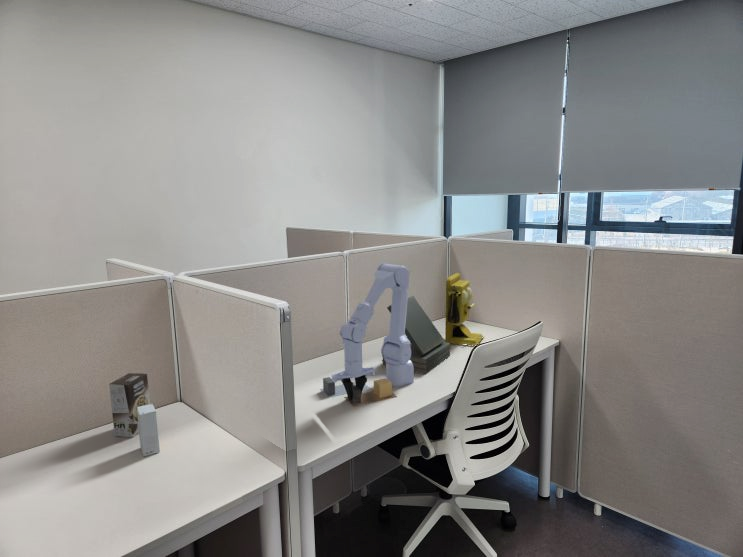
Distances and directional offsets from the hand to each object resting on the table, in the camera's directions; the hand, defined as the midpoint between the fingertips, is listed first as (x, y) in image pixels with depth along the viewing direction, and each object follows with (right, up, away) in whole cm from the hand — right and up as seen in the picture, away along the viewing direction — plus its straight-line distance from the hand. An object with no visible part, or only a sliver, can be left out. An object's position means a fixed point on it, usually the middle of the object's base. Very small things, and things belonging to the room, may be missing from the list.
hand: (354, 398), depth 161 cm
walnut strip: (+5, -1, +3) cm, 6 cm away
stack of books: (+24, +5, +40) cm, 47 cm away
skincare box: (-55, -8, -27) cm, 62 cm away
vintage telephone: (+49, +10, +64) cm, 81 cm away
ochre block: (+9, 0, +5) cm, 11 cm away
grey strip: (-4, 0, +9) cm, 10 cm away
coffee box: (-65, -6, -15) cm, 67 cm away
